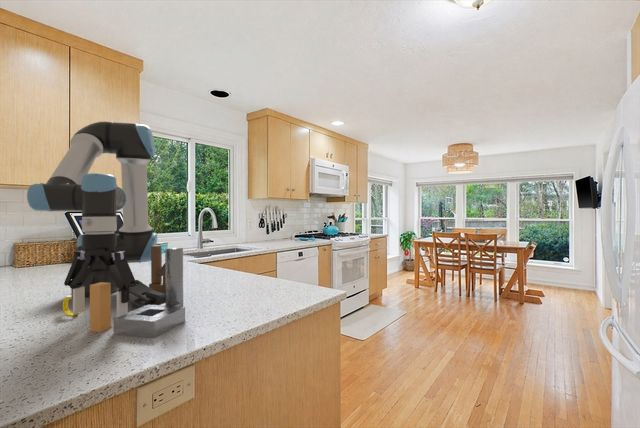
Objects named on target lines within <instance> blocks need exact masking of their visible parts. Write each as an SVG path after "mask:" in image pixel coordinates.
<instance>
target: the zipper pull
mask: <svg viewBox="0 0 640 428" xmlns="http://www.w3.org/2000/svg"><path fill="white" fill-rule="evenodd" d="M135 281H136V283H137V286H136V287H133V288H131V289H130V291H129V292H130V295H132V296H135V297H136V299H134V300H132V301H131V308H132V309H133V310H136V309H138V308H141V307H143V306H146V305H161V304H164V303H166V296H165V294H163V293H160V292H156V291H154V290H152V289H151V288H149V285H147V284H145V283H143V282H142V281H140V280H139V279H135ZM123 286H124V285H123ZM115 287H117V285H116V284H115ZM117 288H118V287H117Z"/></svg>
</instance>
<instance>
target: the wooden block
mask: <svg viewBox="0 0 640 428" xmlns="http://www.w3.org/2000/svg"><path fill="white" fill-rule="evenodd" d="M162 249H163V247H162V245H159V244H157V245H153V246H151V261H150V278H151V279H150V281H151V282H150V283H149V284H148V287H149V288H151V289H152V290H154V291H156V292H160V293H163V294H165V263H164V264H162V262H163V260H162V257H163V256H162V255H163V254H162Z"/></svg>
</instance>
